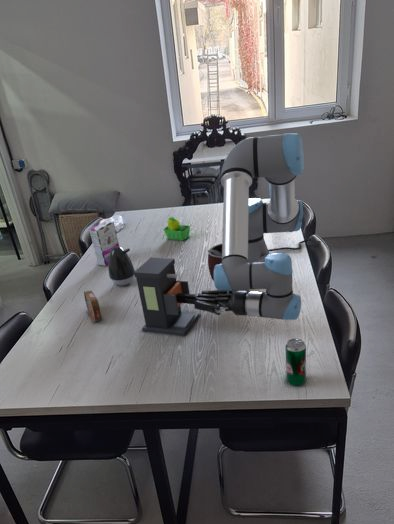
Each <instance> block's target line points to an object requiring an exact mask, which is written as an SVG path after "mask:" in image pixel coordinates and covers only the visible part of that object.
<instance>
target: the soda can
mask: <svg viewBox="0 0 394 524" xmlns="http://www.w3.org/2000/svg"><path fill="white" fill-rule="evenodd" d="M285 379H286V382H287V383H288V384H289V385H291V386H294V387H299V386H303V385H304V384H305V383H306V381H307V345H306V342H305V341H304V340H303V339H302V338H295V337H294V338H291V339H289V340H288V341H287V342H286V345H285Z"/></svg>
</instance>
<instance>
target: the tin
mask: <svg viewBox="0 0 394 524" xmlns="http://www.w3.org/2000/svg"><path fill="white" fill-rule="evenodd" d="M83 297H84V301H85V304H86V309H87V311H88V314H89V315H90V317H91V319H92V322H93V323H96V322H99V321H102V314H101V307H100V303H99V300H98V297H96V295H95V293H94V292H93V291H92V290H85V291H84V292H83Z"/></svg>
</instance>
